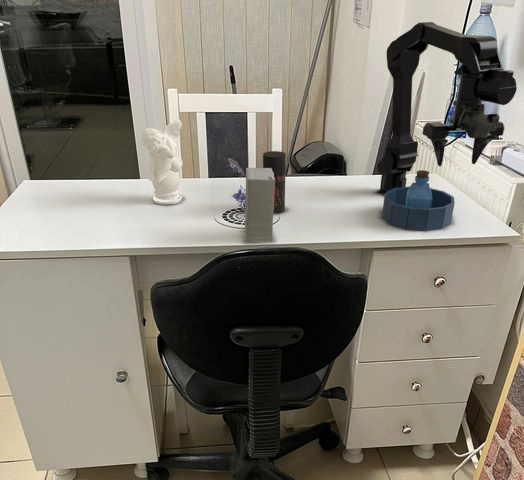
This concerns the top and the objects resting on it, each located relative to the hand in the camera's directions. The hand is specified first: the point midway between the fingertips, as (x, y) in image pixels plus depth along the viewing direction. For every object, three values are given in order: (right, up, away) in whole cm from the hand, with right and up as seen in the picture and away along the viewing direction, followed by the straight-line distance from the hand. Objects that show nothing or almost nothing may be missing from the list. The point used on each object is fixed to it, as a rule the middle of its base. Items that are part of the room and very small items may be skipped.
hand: (456, 164), depth 136 cm
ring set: (-55, -2, +22) cm, 60 cm away
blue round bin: (-8, -12, +7) cm, 16 cm away
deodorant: (-46, -8, +14) cm, 48 cm away
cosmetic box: (-50, -18, -2) cm, 53 cm away
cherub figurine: (-77, -2, +23) cm, 80 cm away
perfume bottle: (-8, -12, +7) cm, 16 cm away
